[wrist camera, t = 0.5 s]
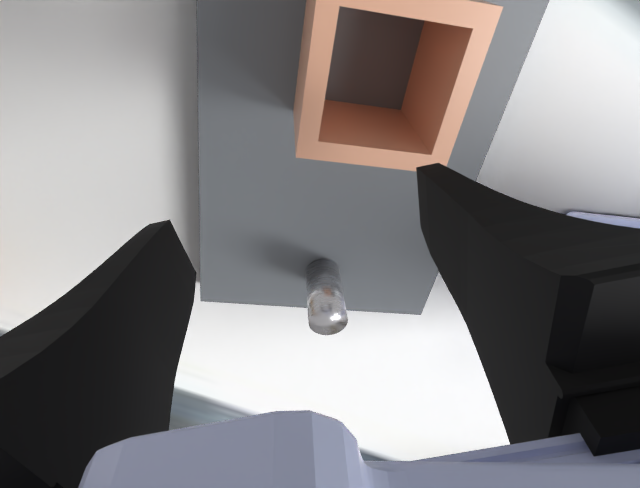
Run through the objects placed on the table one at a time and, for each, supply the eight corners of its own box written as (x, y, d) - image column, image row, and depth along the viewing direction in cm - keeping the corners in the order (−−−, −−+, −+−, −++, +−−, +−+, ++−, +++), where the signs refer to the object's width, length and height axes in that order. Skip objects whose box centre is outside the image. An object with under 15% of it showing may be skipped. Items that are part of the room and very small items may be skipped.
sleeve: (450, -10, 17) (503, 6, 13) (411, 126, 20) (443, 174, 16) (310, -36, 16) (319, -27, 12) (293, 111, 19) (295, 157, 15)
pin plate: (552, -58, 17) (646, -57, 13) (415, 298, 29) (439, 364, 24) (201, -131, 15) (167, -160, 11) (204, 284, 27) (188, 353, 22)
